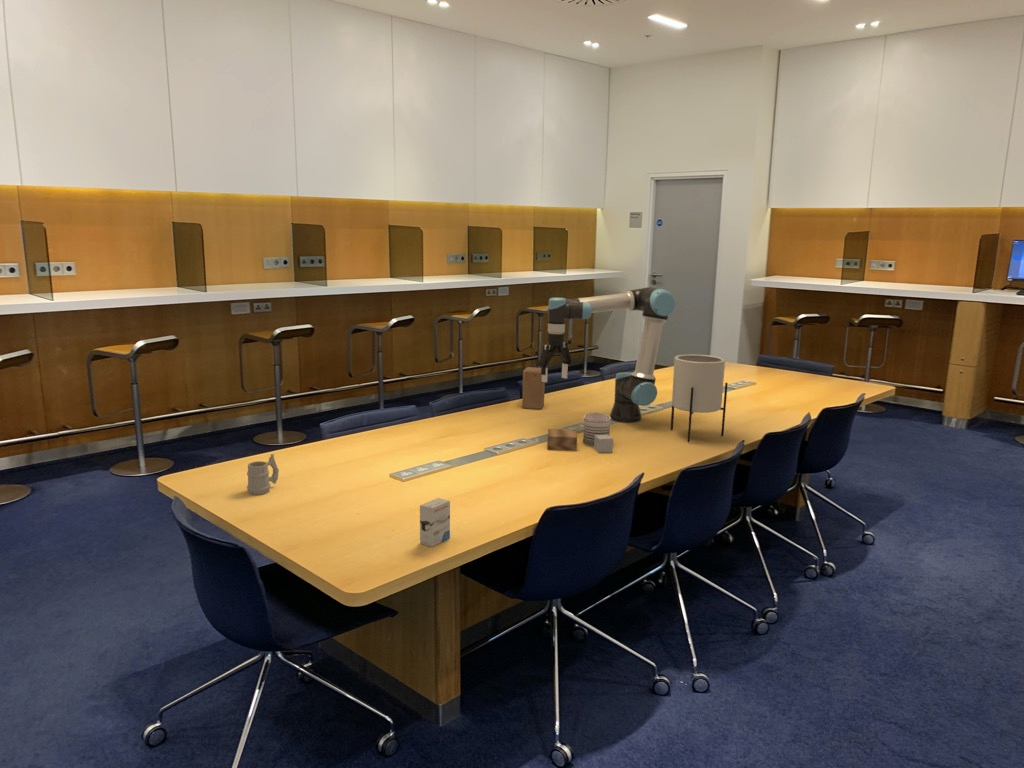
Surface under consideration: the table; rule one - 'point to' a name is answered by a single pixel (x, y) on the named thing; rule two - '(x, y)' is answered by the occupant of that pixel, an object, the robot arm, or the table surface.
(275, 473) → the mug
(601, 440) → the slate block
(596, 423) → the can
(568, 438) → the walnut block
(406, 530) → the table surface
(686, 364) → the plant pot with stand
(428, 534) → the ink box
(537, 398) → the wooden block
